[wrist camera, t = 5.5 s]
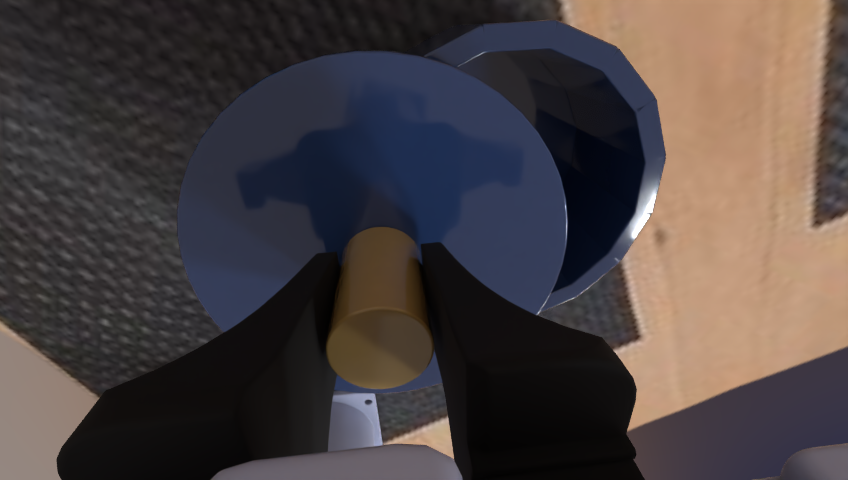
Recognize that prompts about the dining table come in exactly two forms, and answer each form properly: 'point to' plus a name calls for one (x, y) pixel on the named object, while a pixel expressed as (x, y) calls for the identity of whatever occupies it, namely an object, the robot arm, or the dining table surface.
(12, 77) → the dining table surface
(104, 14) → the dining table surface
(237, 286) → the lid
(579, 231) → the open pot
